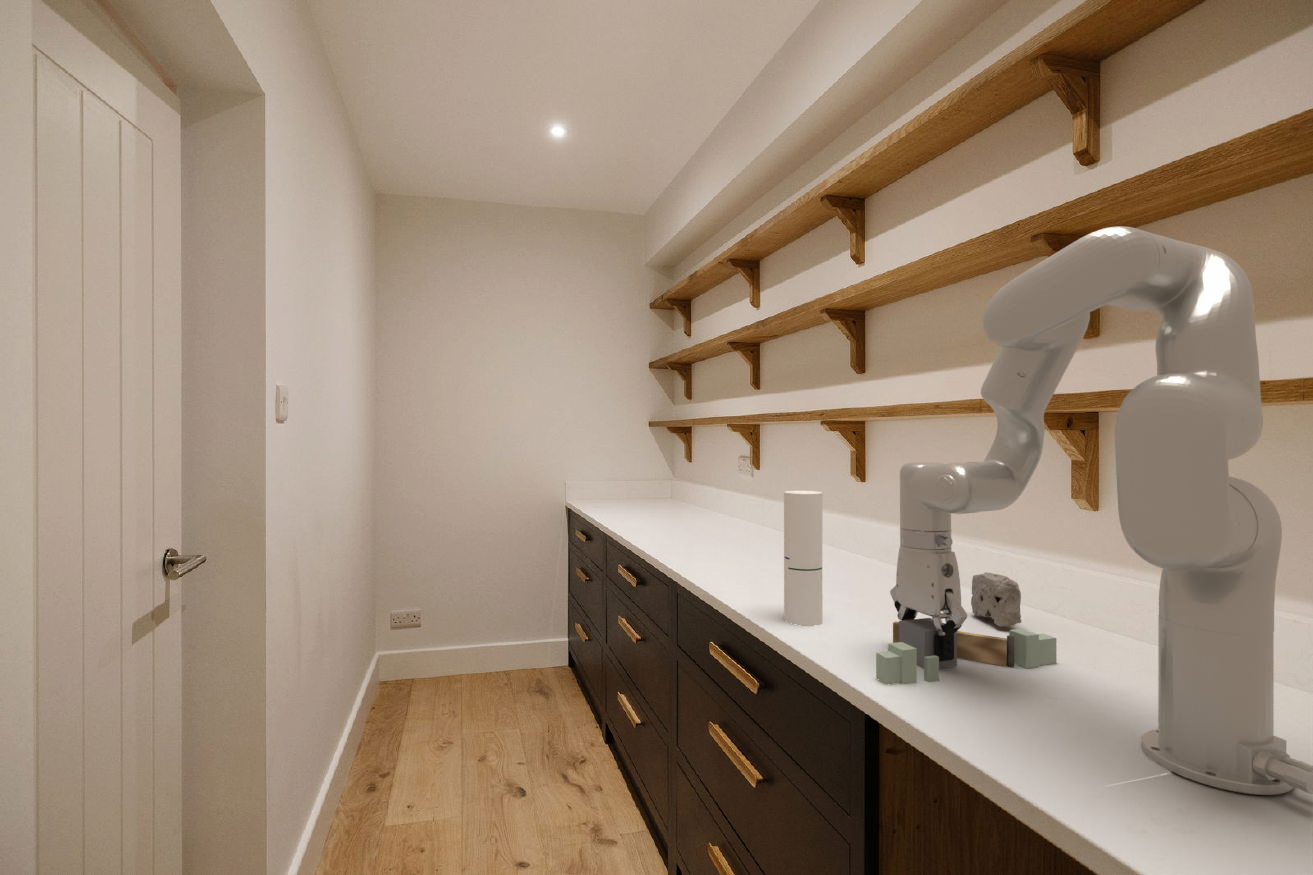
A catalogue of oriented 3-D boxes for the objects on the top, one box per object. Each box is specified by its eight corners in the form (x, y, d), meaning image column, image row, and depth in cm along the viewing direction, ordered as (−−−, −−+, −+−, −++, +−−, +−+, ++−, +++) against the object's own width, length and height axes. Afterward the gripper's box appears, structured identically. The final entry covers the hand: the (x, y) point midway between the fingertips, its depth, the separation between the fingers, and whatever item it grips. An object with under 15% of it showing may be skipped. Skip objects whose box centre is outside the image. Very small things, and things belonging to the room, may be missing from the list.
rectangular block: (956, 666, 100) (956, 628, 100) (924, 670, 98) (924, 631, 98) (929, 654, 106) (929, 617, 106) (899, 657, 104) (899, 620, 104)
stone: (1027, 628, 115) (1024, 571, 117) (993, 625, 116) (991, 568, 118) (998, 627, 127) (995, 576, 130) (967, 624, 128) (965, 573, 131)
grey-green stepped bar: (1059, 664, 101) (1059, 632, 100) (889, 687, 91) (889, 652, 91) (1041, 657, 104) (1041, 626, 104) (874, 679, 95) (874, 645, 95)
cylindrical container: (809, 616, 128) (809, 490, 128) (829, 626, 121) (829, 493, 121) (777, 619, 125) (777, 491, 125) (796, 630, 119) (796, 494, 119)
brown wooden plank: (1015, 662, 101) (1015, 633, 101) (1013, 667, 99) (1013, 637, 99) (896, 642, 111) (896, 615, 111) (892, 646, 109) (892, 619, 109)
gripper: (987, 547, 95) (988, 667, 95) (908, 531, 112) (909, 634, 112) (945, 550, 93) (946, 673, 93) (871, 533, 110) (872, 638, 109)
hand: (926, 651), depth 102 cm, fingers open, 7 cm apart
